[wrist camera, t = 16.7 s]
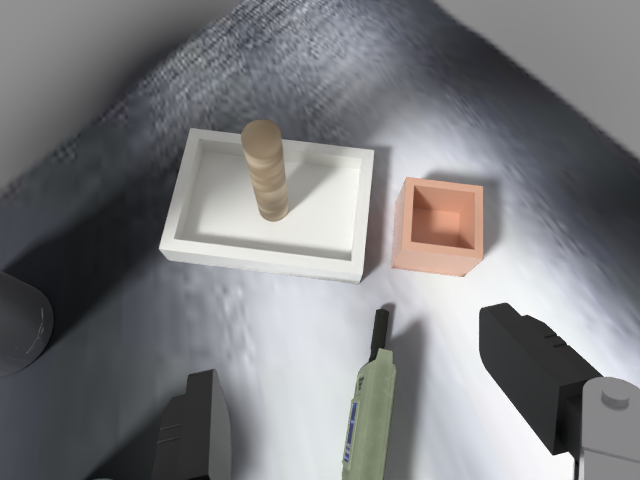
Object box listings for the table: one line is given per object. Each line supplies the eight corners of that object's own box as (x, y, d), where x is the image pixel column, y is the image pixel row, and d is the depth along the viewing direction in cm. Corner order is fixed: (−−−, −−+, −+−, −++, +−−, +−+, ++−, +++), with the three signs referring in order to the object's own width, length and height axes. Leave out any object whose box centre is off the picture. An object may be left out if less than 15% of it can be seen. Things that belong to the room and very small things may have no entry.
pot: (390, 267, 49) (401, 248, 44) (395, 202, 52) (406, 177, 46) (463, 276, 49) (483, 258, 43) (464, 211, 52) (483, 186, 46)
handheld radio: (318, 599, 39) (363, 309, 48) (357, 607, 39) (395, 315, 48) (324, 635, 33) (375, 293, 42) (370, 644, 33) (411, 300, 42)
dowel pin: (256, 219, 50) (237, 151, 36) (261, 192, 51) (244, 117, 38) (286, 223, 50) (278, 156, 36) (290, 196, 51) (284, 121, 38)
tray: (168, 260, 49) (158, 248, 46) (197, 145, 54) (190, 128, 51) (358, 284, 48) (362, 274, 45) (370, 166, 53) (374, 150, 50)
